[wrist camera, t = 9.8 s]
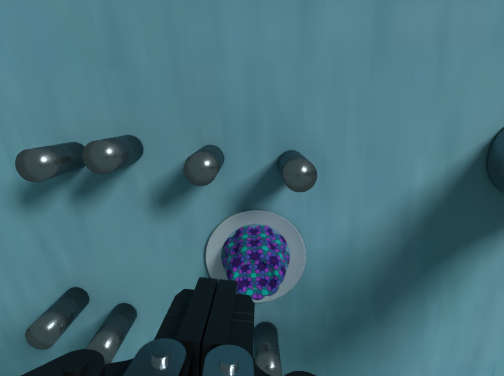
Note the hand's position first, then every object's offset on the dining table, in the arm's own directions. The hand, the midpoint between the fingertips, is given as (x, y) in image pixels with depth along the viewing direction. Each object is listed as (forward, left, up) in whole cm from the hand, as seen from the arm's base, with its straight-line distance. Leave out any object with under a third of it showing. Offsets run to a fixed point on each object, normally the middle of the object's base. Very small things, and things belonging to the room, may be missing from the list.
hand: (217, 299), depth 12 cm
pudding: (-3, +9, -24) cm, 26 cm away
